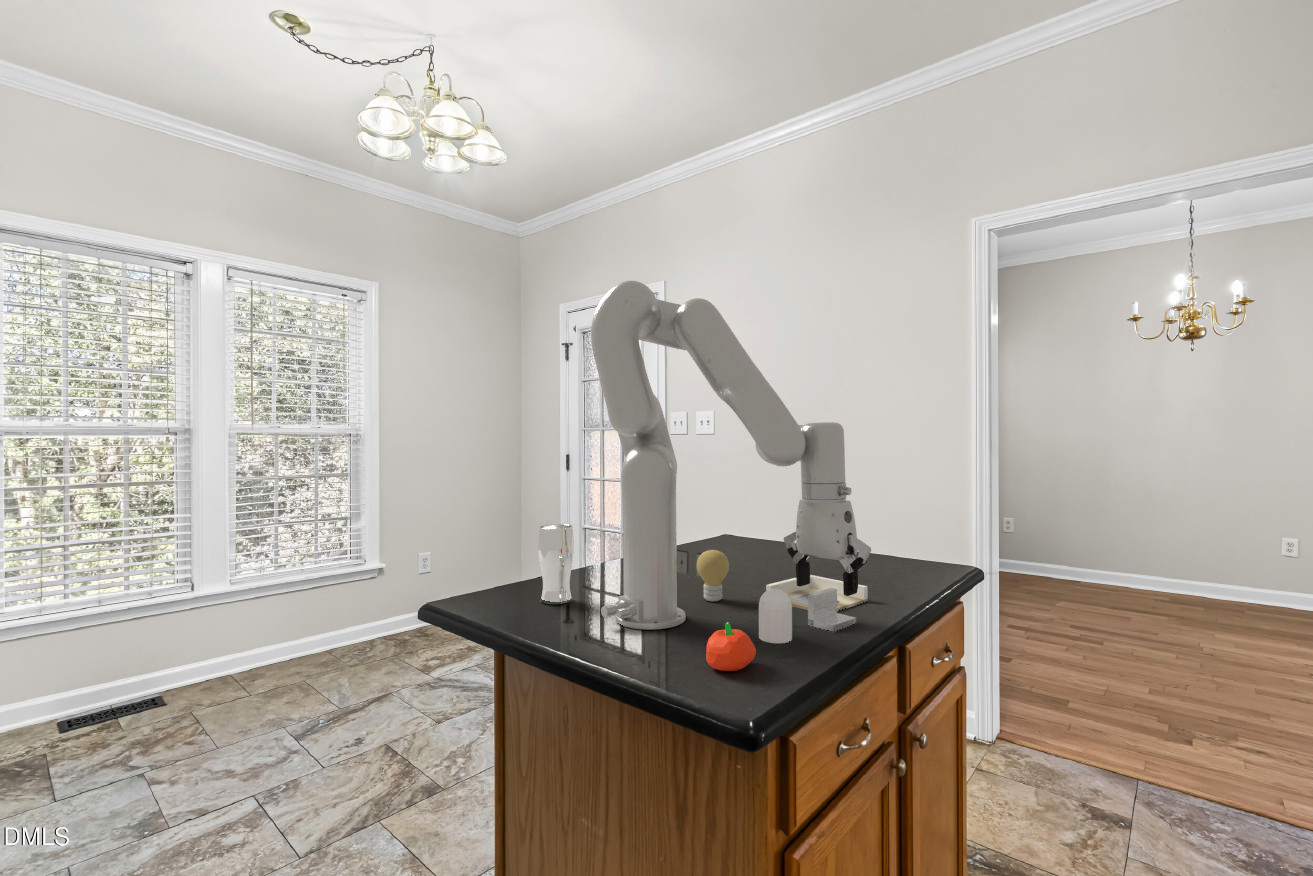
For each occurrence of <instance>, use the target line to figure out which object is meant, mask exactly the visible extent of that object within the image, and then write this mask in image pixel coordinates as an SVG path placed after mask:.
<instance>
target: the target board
mask: <svg viewBox="0 0 1313 876" xmlns="http://www.w3.org/2000/svg"><path fill="white" fill-rule="evenodd" d="M818 591H822V590H819V589H814V588H806V589H803V590H799V591H795V592H792V593H788V594H787V595H788V596H789V598H790V599H791V603H792V608H796V609H801V610H805V611H808V594H811V593H815V592H818ZM863 602H864V603H867V602H866V599H865V601H864V599H860V598H855V597H851V596H845V595H842V594H837V612H839V610H840V611H842V609H843V610H846V609H849V608H851V607H855V606H858V605H860V603H861V604H864V603H863ZM857 604H858V605H857ZM845 608H846V609H845Z"/></svg>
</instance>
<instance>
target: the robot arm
mask: <svg viewBox="0 0 1313 876" xmlns="http://www.w3.org/2000/svg"><path fill="white" fill-rule="evenodd" d="M590 328H591V329H590V339H591V340H590V341H591V342H590V343H591V348H592V349H591V350H592V353H593V358H594V362H595V366H596V370H597V374H598V378H599V379H598V380H599V383H600V386H601V390H602V393H603V398H604V401H605V405H606V410H607V415H608V420H609V423H610V424H611V426H612V427H613V429H614V430H615V431H616V433H617V434H618V437H619V442H620V445H621V448H622V451H623V455H624V460H623V461H622V462H623V463H622V467H621V474H620V475H621V478H620V479H621V481H620V483H621V498H622V533H623V535H622V537H623V539H622V541H623V545H622V546H623V553H622V554H623V555H622V556H623V595H619V596H618V601H616V602H615V603H614V604H607V605H604V606H602V607H601V609H600V613H601V616H602V617H603V618H610V617H612V616H614V620H615V622H616V623H617V624H618V623H619V625H620V624H621V625H620V626H622V625H623V626H622V627H625V628H629V629H635V630H651V631H652V630H653V631H654V630H663V629H669V628H674V627H677V626H679V625H680V626H681V625H682V624H683V623H684V622H685V621H686V612H685V611H684V610H683V609H682V608H680V607H678V595H677V594H678V593H677V592H678V591H677V589H678V586H677V583H678V581H677V580H678V579H677V575H678V573H677V568H678V567H677V561H678V560H677V555H678V553H677V551H678V550H677V549H678V548H677V546H678V545H677V473H678V462H677V457H676V454H675V451H674V447H673V444H672V440H671V436H670V433H669V429H668V426H667V422H666V419H665V416H664V415H665V414H664V412H663V408H662V405H661V403H660V401H659V399H658V398H657V397H656V395H655V393H654V392H653V389H652V386H651V383H650V379H649V376H648V373H647V370H646V365H645V361H644V356H643V354H642V350H641V346H640V341H642V342H646V343H651V344H656V345H660V346H664V347H668V348H673V349H676V350H682V351H687V353H688V354H689V356H690V357H691V358H692V360H693V362H694V363H695V364H696V365H695V366H697V367H698V369H699V370H700V372H701V374H702V375H703V376H704V378H705V379H706V381H707V383H708V384H709V385H710V387H711V389H712V390H713V391H714V393H715V394H716V395H717V397H718V398H719V399H721V400H722V401H723V402H724V403H725V404H726V405H727V406H729V408H730V409H731V410H732V411H733V412H734V414H735V415H736V416H737V418H738V419H739V420H740V422H741V423H742V424H743V426H744V427H745V429H746V430H747V432H748V433H749V435H750V436H751V438H752V439H753V440H754V442H755V450H756V453H757V454H758V456H759V457H760V458H761V459H762V460H763V461H764V462H766V463H767V464H769V465H774V466H777V467H790V466H793V465H794V464H796V463H798V462H800V475H801V476H800V477H801V478H800V479H801V480H800V482H801V483H800V484H801V499H799V502H798V505H797V506H798V507H797V511H796V512H797V513H796V523H795V524H796V526H795V531H794V532H792V533H790V534H788V535H785V537H783V542H784V545H785V547H786V549H787V553H788V555H789V556H790V557H791V559H792V563H793V564H795V578H796V579H797V586H800V587H801V586H804V585H807V584H810V575H811V570H810V569H811V565H810V562H809V561H807V560H809V558H810V557H815V558H821V559H826V560H835V561H839V562H840V564H841V565H842V567H843V568H844V570H845V572H843V573H842V581H843V592H844V595H845V596H850V595H853V594H856V593H857V589H858V584H859V571H861V569H862V567H863V566H864V565H865V564H867V562H868V558H869V557H870V554H871V552H872V548H871V546H869V545H868V544H867V543H866V542H863V540H860V539H859V538H858V535H857V526H856V520H855V514H854V509H853V505H852V501H850V500H847V496H850V495H851V494H852V487H847V483H846V457H845V453H846V452H845V431H844V427H843V426H842V424H840V423H839V422H834V421H833V422H831V421H830V422H825V421H824V422H823V421H822V422H809V423H805V424H798V422H797V421H796V419H795V418H794V416H793V415H792V413H791V412H790V410H789V409H788V407H787V406H786V404H785V403H784V402H783V400H782V399H781V398H780V396H779V394H778V393H777V392H776V391H775V389H774V388H773V387H772V386H771V384H770V383H769V382H768V380H767V379H766V378H765V376H764V375H763V373H762V371H760V369H759V368H758V367H757V365H756V364H755V363H754V361H753V360H752V359H751V357H750V355H749V354H748V352H747V351H746V350H745V348H744V347H743V345H742V344H741V343H740V341H739V339H738V337H736V334H735V333H734V332H733V330H732V329H731V327H730V326H729V324H728V323H727V322H726V320H725V318H724V317H723V316H722V314H721V313H720V311H719V310H718V308H717V307H716V306H715V305H714V304H713V303H712V302H711V301H709V300H708V299H705V298H702V297H701V298H697V297H696V298H692V299H689V300H687V301H685V302H684V303H682V304H678V303H674V302H670V301H665V300H661V299H657V297H656V295H655V294H654V292H653V291H652V290H651V289H650V287H649V286H647V285H646V284H644V283H643V282H640V281H637V280H625V281H622V282H620V283H618V284H616V285H614V286H613V287H611V289H609V290H608V291H607V293H605V295H604V296H603V297H602V298H601V300H600V301H599V303H598V305H597V306H596V308H595V311H594V313H593V317H592V320H591V327H590ZM856 555H857V557H855V556H856Z"/></svg>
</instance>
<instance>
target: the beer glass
mask: <svg viewBox="0 0 1313 876" xmlns="http://www.w3.org/2000/svg"><path fill="white" fill-rule="evenodd" d="M538 529H539V532H538V546H537V547H538V548H537V551H538V560H539V566H540V571H541V578H542V593H541V599H542V600H545V601H550V602H562V601H567V600H570V599H571V598H572V593H571V589H570V588H571V586H570V585H571V584H570V583H571V582H570V581H571V573H572V567H573V561H574V553H575V546H574V532H573V531H574V530H573V525H571V524H566V523H551V524H544V525H540V526H539V528H538ZM541 599H540V600H541Z"/></svg>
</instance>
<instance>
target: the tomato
mask: <svg viewBox="0 0 1313 876" xmlns="http://www.w3.org/2000/svg"><path fill="white" fill-rule="evenodd" d="M705 645H706V647H705V652H704V653H705V655H706V656H705V657H706V658H705V659H706V662H707V664H708V666H709V667H711V668H712V669H714V670H717V671H723V672H734V671H735V672H737V671H739V670H742V669H744V668H745V667H747V666H748V665H749V664H750V663H751V662H752V661H753V660H754V659H755V656H756V654H757V650H756V647H755V644H754V642H753V641H752V640H751V638H750V636H749V635H748V634H747V633H746V632H744V631H742V630H741V629H737V628H735V629H734V628H732V626H731V624H730V622H728V621H727V622H726V623H725V624H724V629H719V630H716V631H714V632H713V633H711V636H709V638H708V640H707V642H706V644H705Z"/></svg>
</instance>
